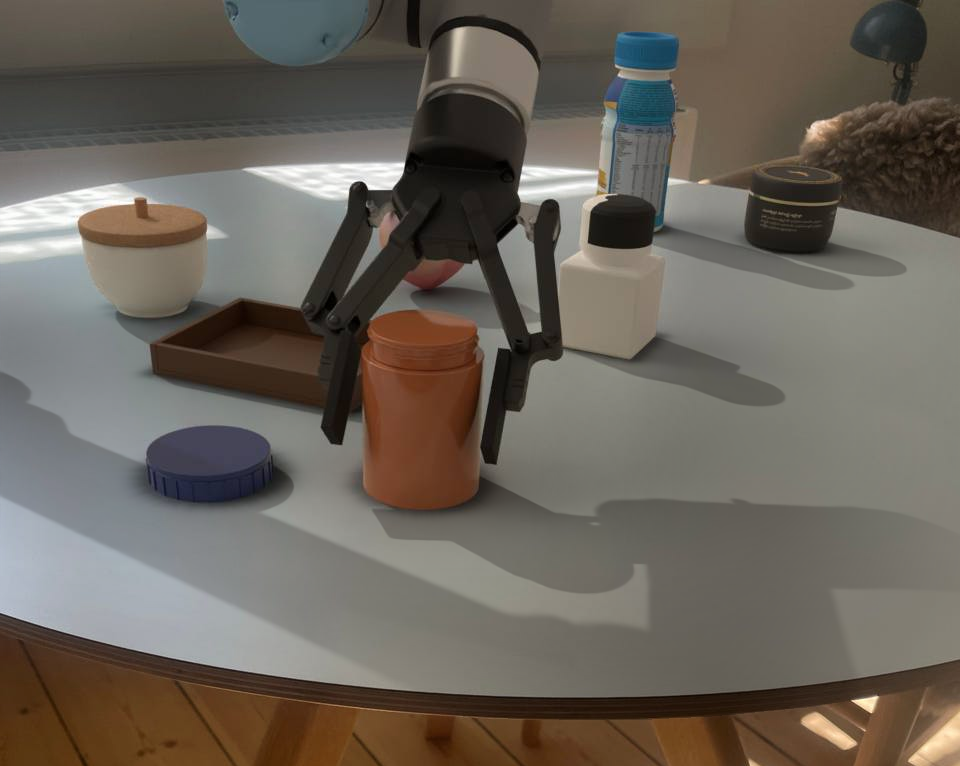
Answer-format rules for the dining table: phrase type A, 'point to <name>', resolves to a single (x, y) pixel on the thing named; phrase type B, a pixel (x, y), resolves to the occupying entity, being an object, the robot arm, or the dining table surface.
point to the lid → (209, 463)
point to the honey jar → (422, 409)
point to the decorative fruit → (428, 270)
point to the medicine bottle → (612, 279)
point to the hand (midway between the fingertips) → (409, 446)
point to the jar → (791, 208)
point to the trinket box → (146, 256)
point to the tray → (251, 352)
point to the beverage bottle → (640, 120)
